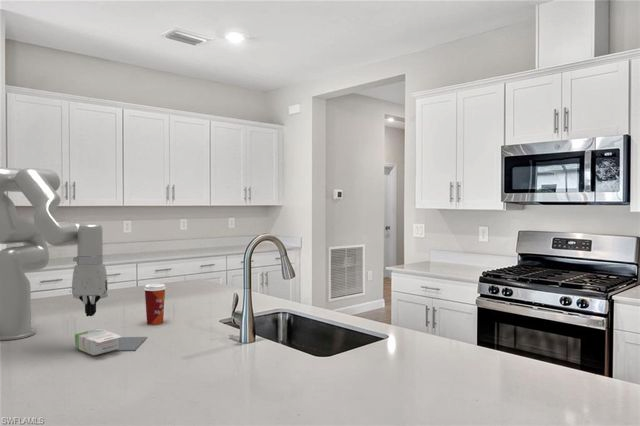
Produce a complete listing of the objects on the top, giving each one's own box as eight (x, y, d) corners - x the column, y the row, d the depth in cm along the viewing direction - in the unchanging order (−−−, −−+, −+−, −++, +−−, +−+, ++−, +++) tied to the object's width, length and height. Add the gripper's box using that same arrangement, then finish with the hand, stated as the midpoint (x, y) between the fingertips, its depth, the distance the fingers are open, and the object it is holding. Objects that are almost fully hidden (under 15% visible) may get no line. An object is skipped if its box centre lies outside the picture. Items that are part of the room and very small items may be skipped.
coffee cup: (161, 325, 179) (161, 287, 178) (140, 325, 179) (140, 287, 178) (169, 320, 187) (169, 283, 186) (149, 319, 187) (148, 283, 187)
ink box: (74, 348, 150) (97, 358, 141) (74, 333, 150) (97, 342, 141) (100, 342, 157) (124, 351, 148) (100, 327, 156) (124, 335, 147)
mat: (86, 351, 148) (86, 350, 148) (103, 338, 162) (103, 337, 162) (135, 350, 149) (135, 349, 149) (147, 337, 163) (147, 336, 163)
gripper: (61, 262, 149) (62, 318, 150) (109, 262, 151) (109, 317, 151) (71, 259, 157) (72, 312, 157) (117, 259, 158) (117, 312, 159)
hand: (90, 315), depth 154 cm, fingers closed
